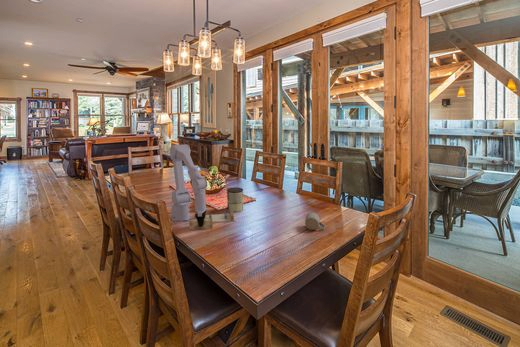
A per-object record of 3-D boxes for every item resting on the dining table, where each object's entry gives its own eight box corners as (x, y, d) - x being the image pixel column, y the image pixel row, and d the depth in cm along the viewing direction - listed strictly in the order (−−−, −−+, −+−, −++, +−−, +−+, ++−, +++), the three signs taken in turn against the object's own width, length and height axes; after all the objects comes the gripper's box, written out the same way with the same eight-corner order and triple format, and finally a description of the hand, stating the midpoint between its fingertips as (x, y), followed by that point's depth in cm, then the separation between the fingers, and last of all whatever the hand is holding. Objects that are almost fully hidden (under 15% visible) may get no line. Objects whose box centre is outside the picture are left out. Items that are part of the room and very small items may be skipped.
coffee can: (224, 210, 189) (223, 189, 187) (237, 207, 196) (236, 186, 193) (233, 213, 181) (232, 192, 179) (246, 210, 188) (246, 189, 185)
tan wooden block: (189, 229, 155) (189, 221, 155) (190, 227, 159) (190, 219, 159) (212, 228, 157) (212, 220, 156) (212, 226, 161) (212, 218, 160)
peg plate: (200, 223, 165) (200, 217, 165) (201, 216, 177) (201, 210, 176) (235, 221, 168) (235, 215, 167) (234, 214, 180) (234, 209, 179)
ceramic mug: (304, 230, 154) (305, 216, 153) (305, 224, 162) (305, 211, 161) (325, 232, 152) (325, 218, 151) (324, 226, 160) (325, 213, 159)
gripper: (207, 204, 149) (208, 229, 151) (208, 197, 163) (209, 220, 165) (193, 204, 148) (194, 230, 150) (195, 197, 162) (196, 220, 165)
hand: (201, 225), depth 158 cm, fingers closed on tan wooden block, 4 cm apart
